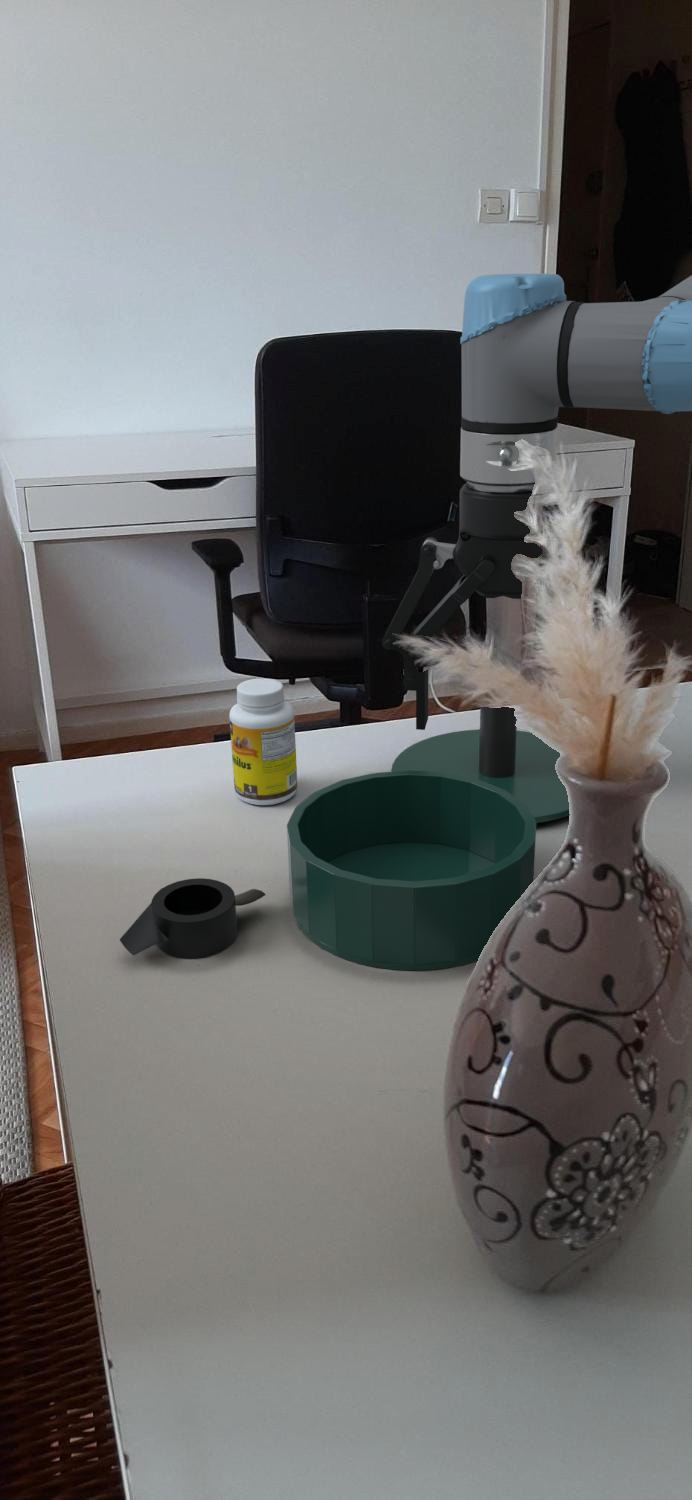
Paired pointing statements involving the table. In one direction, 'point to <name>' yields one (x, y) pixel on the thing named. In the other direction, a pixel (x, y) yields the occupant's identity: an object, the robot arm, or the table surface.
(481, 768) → the lid
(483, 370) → the robot arm
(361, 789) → the tin
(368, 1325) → the table surface
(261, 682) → the supplement bottle
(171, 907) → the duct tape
